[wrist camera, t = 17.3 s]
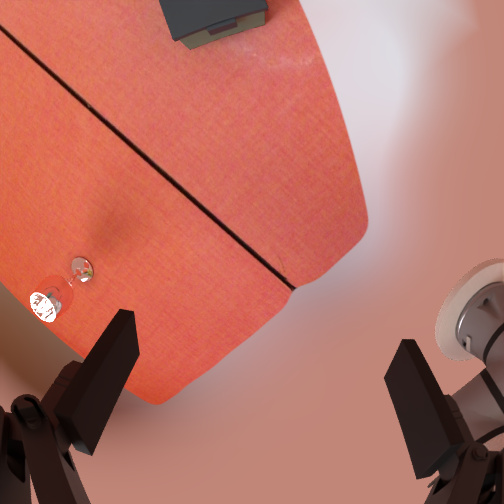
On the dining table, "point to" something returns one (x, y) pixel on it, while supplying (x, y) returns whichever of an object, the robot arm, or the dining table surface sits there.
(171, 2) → the box
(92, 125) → the dining table surface
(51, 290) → the wineglass
